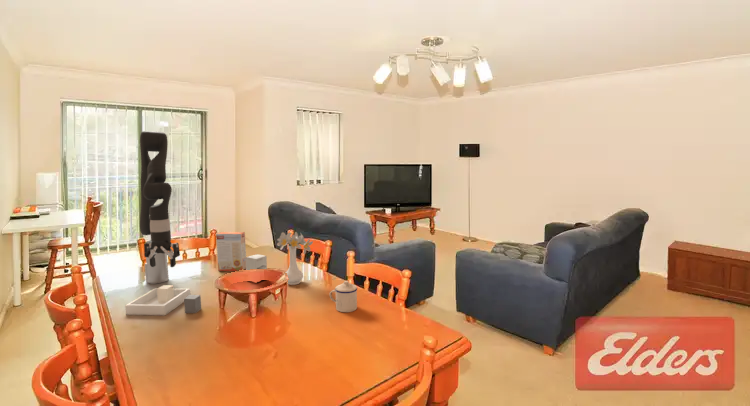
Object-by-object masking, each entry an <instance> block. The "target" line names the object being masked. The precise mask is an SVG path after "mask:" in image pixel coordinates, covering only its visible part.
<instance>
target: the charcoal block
mask: <svg viewBox="0 0 750 406" xmlns="http://www.w3.org/2000/svg"><path fill="white" fill-rule="evenodd" d="M201 300H202V299H201V294H190V295H189V296H187V297H186V298H184V302H183V305H184V314H197V313H198V312H199V311H200V310H202V301H201Z"/></svg>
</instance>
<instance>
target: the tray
mask: <svg viewBox="0 0 750 406" xmlns="http://www.w3.org/2000/svg"><path fill="white" fill-rule="evenodd" d="M173 291H174V298H173V299H171V300H170V301H168V302H158V296H157V287H154V288H153V289H151V290H150V291H147V292H146V293H144V294H142V295H141V296H138V297H137V298H136V299H134V300H131V301H130V302H128V303H127V304H125V306H124V308H125V309H124V310H125V315H126V316H166V315H168V314H169V313H170V312H172V311H173V310H174V309H176V308H177V307H179V306H180V305H182V304H184V298H186V297H187V296H189V295H191V288H174V287H173Z"/></svg>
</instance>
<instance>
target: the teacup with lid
mask: <svg viewBox="0 0 750 406" xmlns="http://www.w3.org/2000/svg"><path fill="white" fill-rule="evenodd" d="M332 293H335V298H334V297H333V295H332ZM328 296H329V298H330V300H331V301H332V302H334V303H335V310H337V311H338V312H340V313H352V312H354V311H356V310H357V309H358V300H357V299H358V286H357V285H356V284H353V283H351V282H349V280H344V281H343V283H341V284H338V285H336V286H335V288H334V289H332V290H331V291H330V292H329V295H328Z"/></svg>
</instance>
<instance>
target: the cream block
mask: <svg viewBox="0 0 750 406" xmlns="http://www.w3.org/2000/svg"><path fill="white" fill-rule="evenodd" d="M156 288H157V287H156ZM173 288H174V285H173V284H172V285H168V284H167V285H166V284H163V285H161V286H159V287H158V288H157V296H158V302H168V301H170V300H171V299H173V298H174V291H173Z"/></svg>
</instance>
